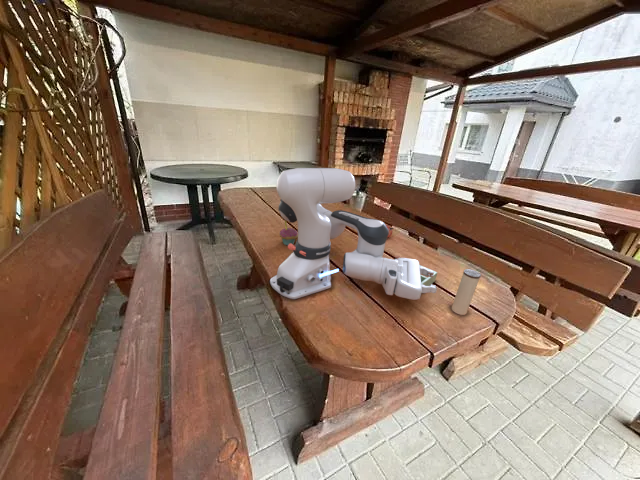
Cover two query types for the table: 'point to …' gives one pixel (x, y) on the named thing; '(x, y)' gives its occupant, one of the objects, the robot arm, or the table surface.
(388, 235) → the pomegranate
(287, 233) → the cupcake
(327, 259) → the robot arm
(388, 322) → the table surface
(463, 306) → the capped cylinder
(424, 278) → the compartment tray
